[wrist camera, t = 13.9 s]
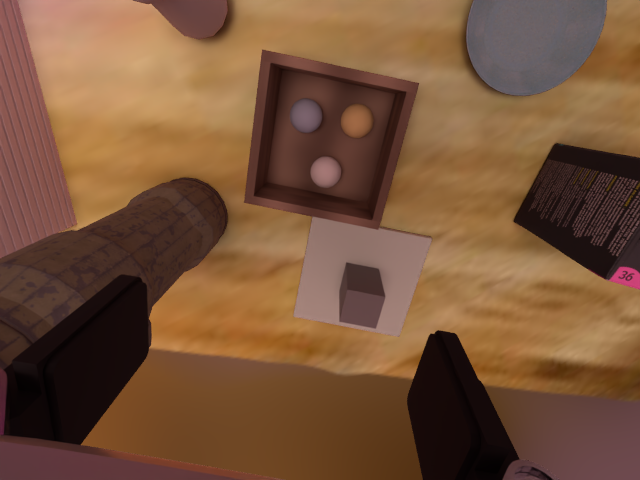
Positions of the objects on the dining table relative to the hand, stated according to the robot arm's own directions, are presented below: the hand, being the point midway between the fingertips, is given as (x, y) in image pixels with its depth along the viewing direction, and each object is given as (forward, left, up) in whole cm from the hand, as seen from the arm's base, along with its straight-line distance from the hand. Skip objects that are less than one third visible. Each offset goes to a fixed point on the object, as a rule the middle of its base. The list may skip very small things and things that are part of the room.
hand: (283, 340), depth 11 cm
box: (0, -4, -29) cm, 29 cm away
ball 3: (-2, -6, -28) cm, 29 cm away
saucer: (-16, -17, -30) cm, 38 cm away
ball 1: (+3, -6, -28) cm, 29 cm away
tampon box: (-28, -3, -29) cm, 40 cm away
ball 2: (0, -1, -28) cm, 28 cm away
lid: (-7, +12, -30) cm, 33 cm away
